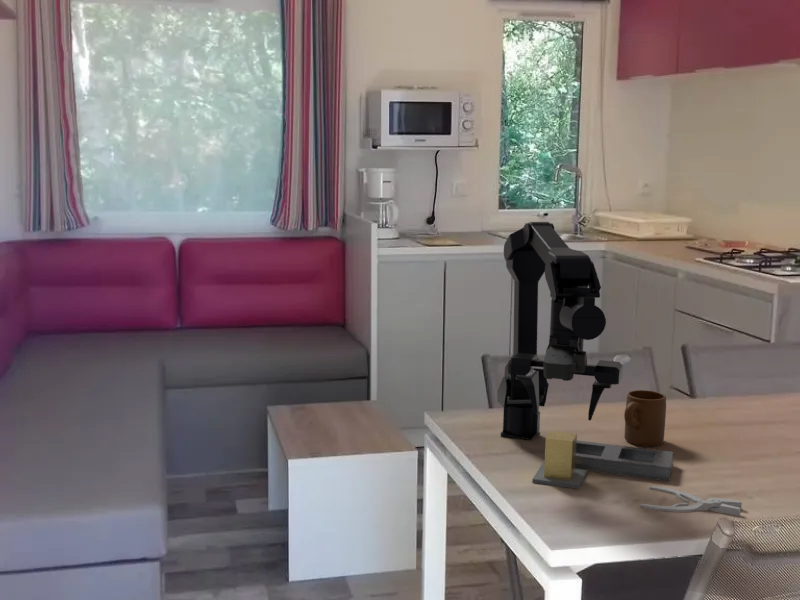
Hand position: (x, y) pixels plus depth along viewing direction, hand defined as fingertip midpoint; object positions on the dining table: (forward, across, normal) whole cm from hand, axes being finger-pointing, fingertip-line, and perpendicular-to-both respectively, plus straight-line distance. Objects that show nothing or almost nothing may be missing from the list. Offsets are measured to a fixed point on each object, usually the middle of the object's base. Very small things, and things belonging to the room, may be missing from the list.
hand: (563, 416), depth 164 cm
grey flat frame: (+11, +8, +10) cm, 17 cm away
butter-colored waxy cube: (+10, 0, 0) cm, 11 cm away
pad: (+11, 0, 0) cm, 11 cm away
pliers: (+12, +22, -4) cm, 25 cm away
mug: (+11, +11, +25) cm, 30 cm away
